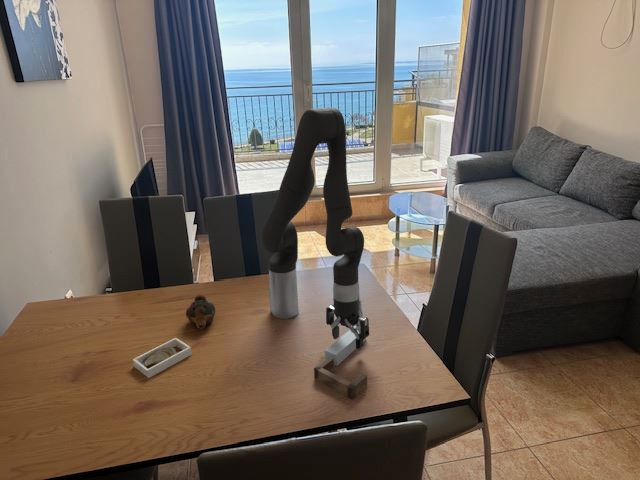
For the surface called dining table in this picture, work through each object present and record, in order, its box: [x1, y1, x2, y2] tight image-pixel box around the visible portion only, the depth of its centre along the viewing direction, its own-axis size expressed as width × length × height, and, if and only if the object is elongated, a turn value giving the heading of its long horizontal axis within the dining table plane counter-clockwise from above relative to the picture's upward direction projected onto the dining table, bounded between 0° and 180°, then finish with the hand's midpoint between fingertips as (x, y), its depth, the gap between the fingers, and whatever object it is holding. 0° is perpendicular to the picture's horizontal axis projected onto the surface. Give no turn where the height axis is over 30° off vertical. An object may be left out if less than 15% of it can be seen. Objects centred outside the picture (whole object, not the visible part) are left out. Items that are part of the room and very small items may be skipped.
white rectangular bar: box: [324, 325, 367, 367], centre depth 133 cm, size 4×16×4 cm, turn 143°
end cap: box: [313, 357, 368, 400], centre depth 119 cm, size 13×6×4 cm, turn 49°
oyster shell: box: [142, 346, 178, 368], centre depth 130 cm, size 6×4×10 cm
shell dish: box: [132, 337, 193, 379], centre depth 131 cm, size 8×14×2 cm, turn 139°
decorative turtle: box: [185, 292, 216, 329], centre depth 150 cm, size 10×15×8 cm, turn 19°
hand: (347, 342), depth 133 cm, fingers open, 8 cm apart
